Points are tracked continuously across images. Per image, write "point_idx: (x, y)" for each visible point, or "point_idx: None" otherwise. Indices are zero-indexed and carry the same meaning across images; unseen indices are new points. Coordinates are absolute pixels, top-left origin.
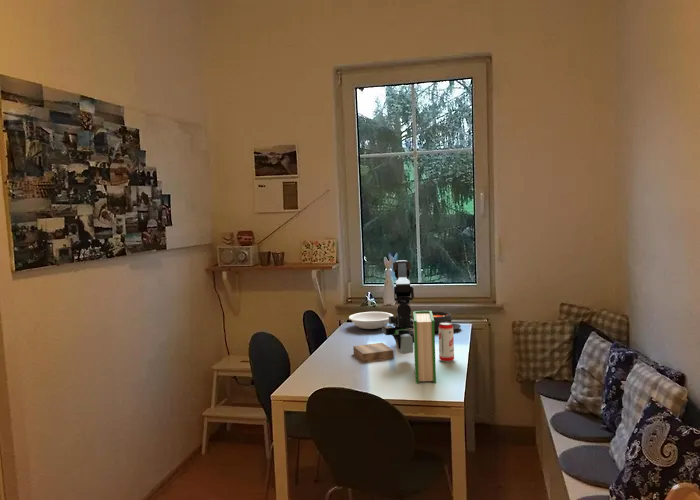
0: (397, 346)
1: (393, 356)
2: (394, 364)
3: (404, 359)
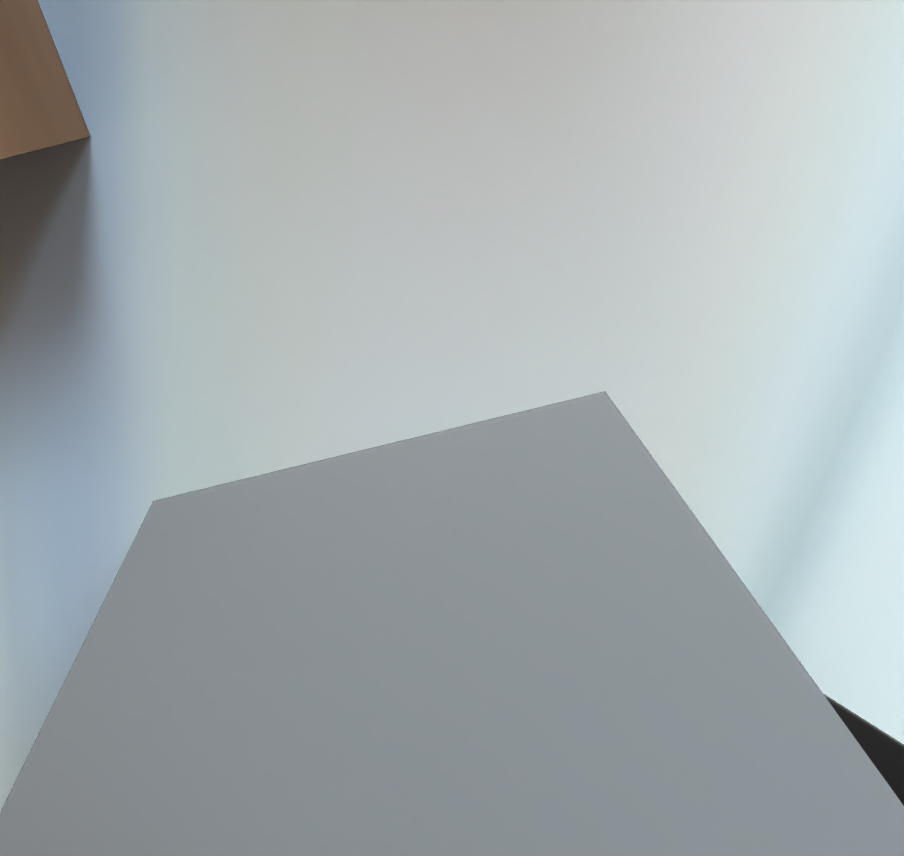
0: (97, 631)
1: (63, 139)
2: None
3: (407, 348)
